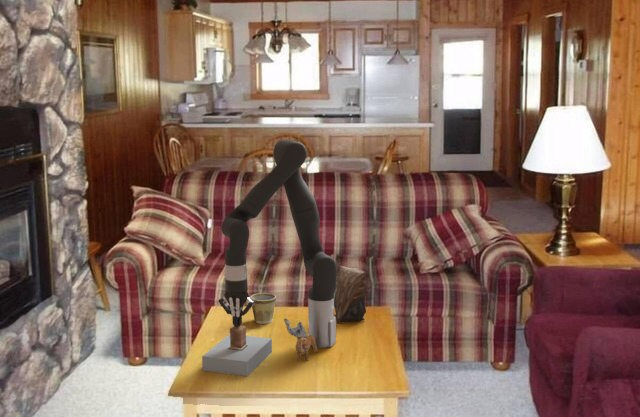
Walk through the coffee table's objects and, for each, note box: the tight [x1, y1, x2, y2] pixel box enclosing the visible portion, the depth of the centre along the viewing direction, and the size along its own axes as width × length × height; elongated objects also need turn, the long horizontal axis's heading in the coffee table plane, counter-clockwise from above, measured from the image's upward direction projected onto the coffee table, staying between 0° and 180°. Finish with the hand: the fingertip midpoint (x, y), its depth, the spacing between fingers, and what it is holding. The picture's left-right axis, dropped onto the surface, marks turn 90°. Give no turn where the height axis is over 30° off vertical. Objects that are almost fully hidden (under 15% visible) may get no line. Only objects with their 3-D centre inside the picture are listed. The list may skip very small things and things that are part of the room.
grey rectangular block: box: [201, 333, 273, 377], centre depth 267 cm, size 16×22×5 cm
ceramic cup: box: [249, 292, 277, 325], centre depth 308 cm, size 13×10×10 cm
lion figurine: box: [295, 335, 318, 362], centre depth 270 cm, size 15×5×9 cm, turn 166°
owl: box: [334, 265, 368, 324], centre depth 309 cm, size 13×13×20 cm
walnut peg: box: [229, 325, 247, 351], centre depth 266 cm, size 4×4×12 cm
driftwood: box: [283, 318, 309, 339], centre depth 299 cm, size 21×7×2 cm, turn 9°
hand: (237, 326), depth 265 cm, fingers closed
